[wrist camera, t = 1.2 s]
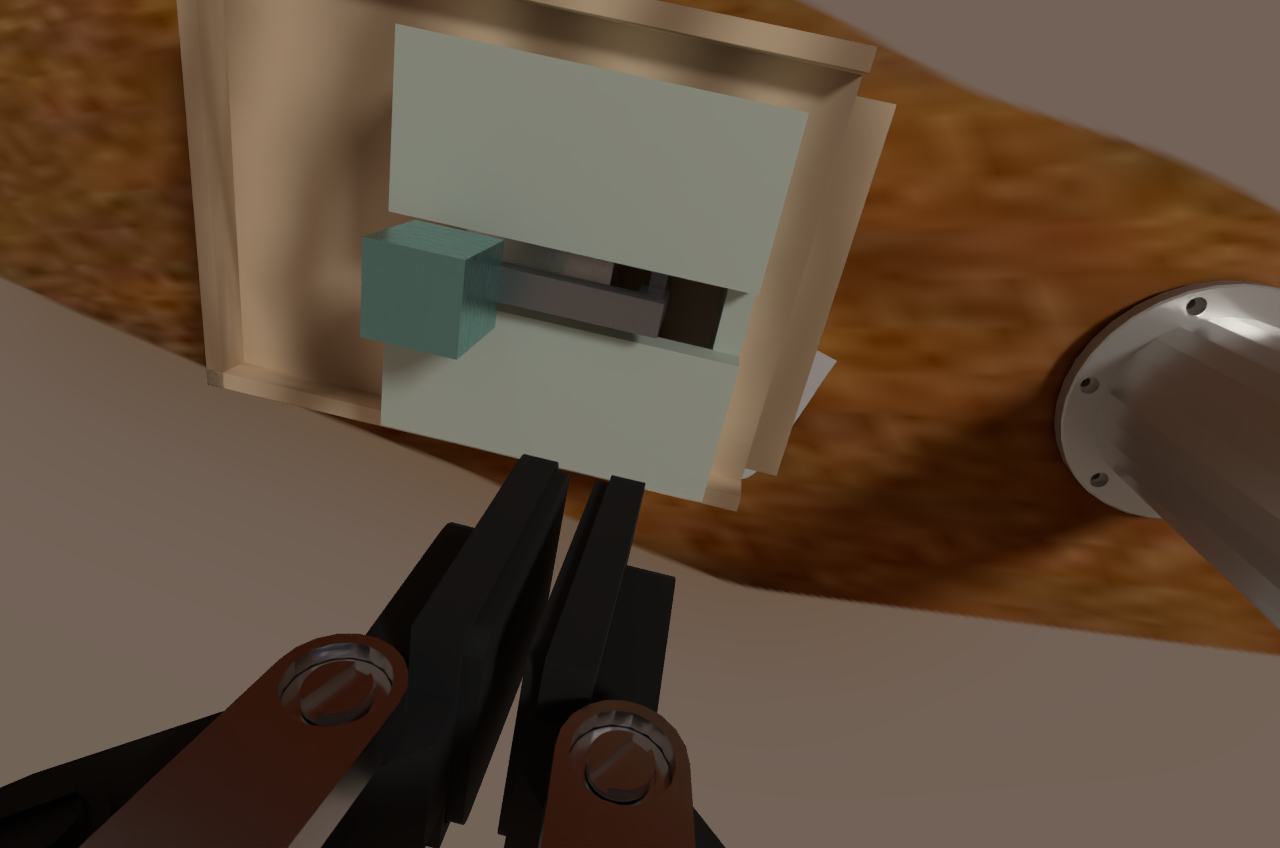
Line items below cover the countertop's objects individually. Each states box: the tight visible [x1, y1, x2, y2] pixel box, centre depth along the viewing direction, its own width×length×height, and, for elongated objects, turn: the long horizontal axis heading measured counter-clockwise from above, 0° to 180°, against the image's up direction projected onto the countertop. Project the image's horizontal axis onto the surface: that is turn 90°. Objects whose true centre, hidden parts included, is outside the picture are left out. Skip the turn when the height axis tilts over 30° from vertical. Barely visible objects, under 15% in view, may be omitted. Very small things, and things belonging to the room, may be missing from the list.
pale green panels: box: [381, 23, 809, 502], centre depth 26 cm, size 13×14×6 cm
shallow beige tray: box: [177, 0, 896, 512], centre depth 32 cm, size 27×19×8 cm
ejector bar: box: [360, 220, 673, 360], centre depth 24 cm, size 8×10×10 cm
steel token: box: [467, 229, 620, 287], centre depth 28 cm, size 6×6×2 cm
